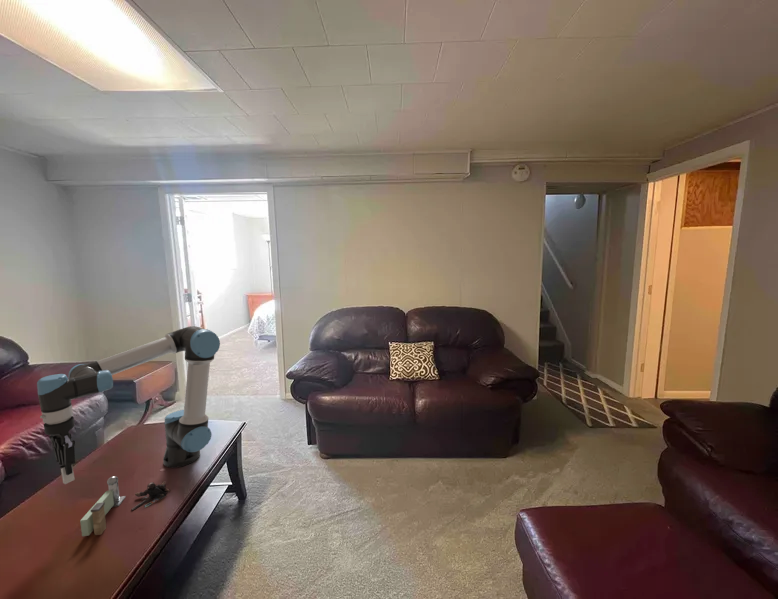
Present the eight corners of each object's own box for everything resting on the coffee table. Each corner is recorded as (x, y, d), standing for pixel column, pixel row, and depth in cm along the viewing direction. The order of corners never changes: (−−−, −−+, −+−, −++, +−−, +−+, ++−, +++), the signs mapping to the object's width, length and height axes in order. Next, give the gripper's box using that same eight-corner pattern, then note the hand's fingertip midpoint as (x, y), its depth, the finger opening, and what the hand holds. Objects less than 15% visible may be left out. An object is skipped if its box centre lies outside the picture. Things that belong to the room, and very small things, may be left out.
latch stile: (107, 527, 123) (104, 502, 122) (101, 534, 120) (98, 509, 118) (99, 528, 122) (96, 503, 121) (93, 535, 119) (90, 510, 118)
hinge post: (125, 497, 138) (123, 472, 136) (118, 506, 133) (116, 480, 131) (111, 499, 137) (108, 473, 135) (104, 508, 132) (101, 481, 130)
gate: (108, 505, 132) (106, 490, 131) (114, 504, 132) (112, 490, 132) (82, 536, 118) (80, 520, 117) (88, 535, 118) (86, 519, 117)
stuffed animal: (174, 480, 147) (164, 480, 137) (170, 506, 143) (159, 508, 132) (143, 483, 144) (130, 484, 134) (138, 510, 140) (125, 513, 130)
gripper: (35, 420, 118) (46, 482, 121) (52, 429, 112) (63, 493, 115) (63, 410, 124) (73, 470, 128) (81, 418, 118) (91, 480, 122)
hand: (69, 481), depth 122 cm, fingers closed
